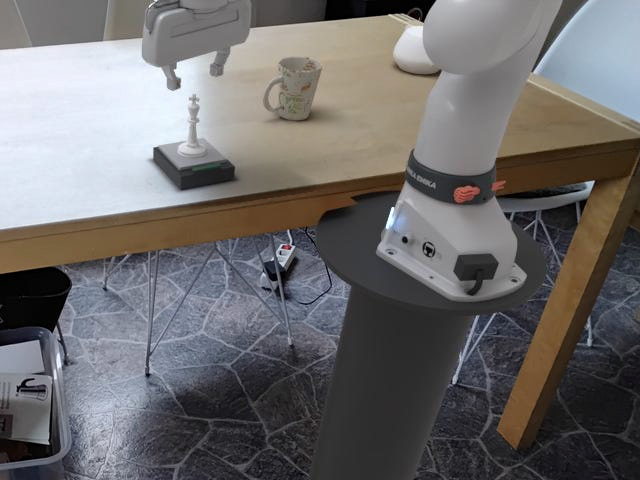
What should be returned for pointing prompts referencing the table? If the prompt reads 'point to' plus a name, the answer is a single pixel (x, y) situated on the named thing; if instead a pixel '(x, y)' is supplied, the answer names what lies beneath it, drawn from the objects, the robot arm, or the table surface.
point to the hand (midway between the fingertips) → (195, 82)
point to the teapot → (413, 52)
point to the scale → (193, 165)
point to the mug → (294, 87)
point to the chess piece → (192, 134)
